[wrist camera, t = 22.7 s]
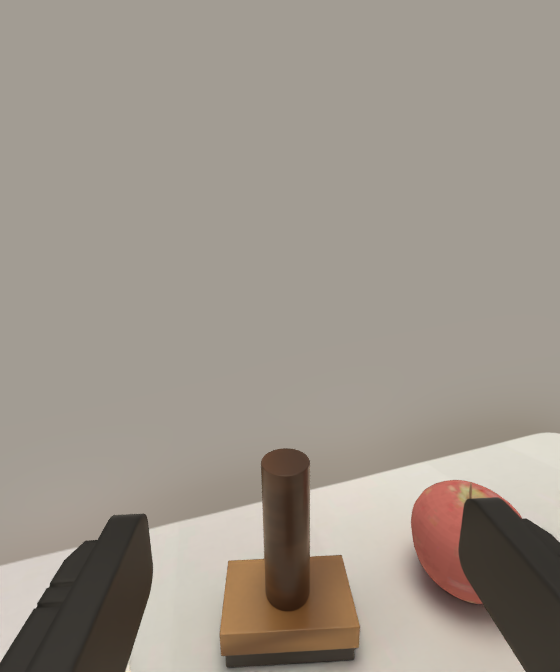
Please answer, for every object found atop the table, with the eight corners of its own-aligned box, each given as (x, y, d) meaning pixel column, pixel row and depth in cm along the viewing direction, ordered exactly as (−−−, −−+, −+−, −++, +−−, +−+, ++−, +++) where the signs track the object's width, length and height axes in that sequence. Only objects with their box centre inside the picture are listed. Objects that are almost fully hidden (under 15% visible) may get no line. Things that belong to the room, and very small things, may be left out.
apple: (393, 544, 30) (398, 458, 28) (478, 538, 30) (489, 453, 28) (437, 639, 22) (449, 531, 20) (549, 629, 23) (571, 522, 21)
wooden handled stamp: (222, 672, 21) (208, 492, 18) (230, 592, 26) (220, 441, 23) (358, 664, 21) (366, 485, 18) (341, 586, 26) (344, 436, 23)
